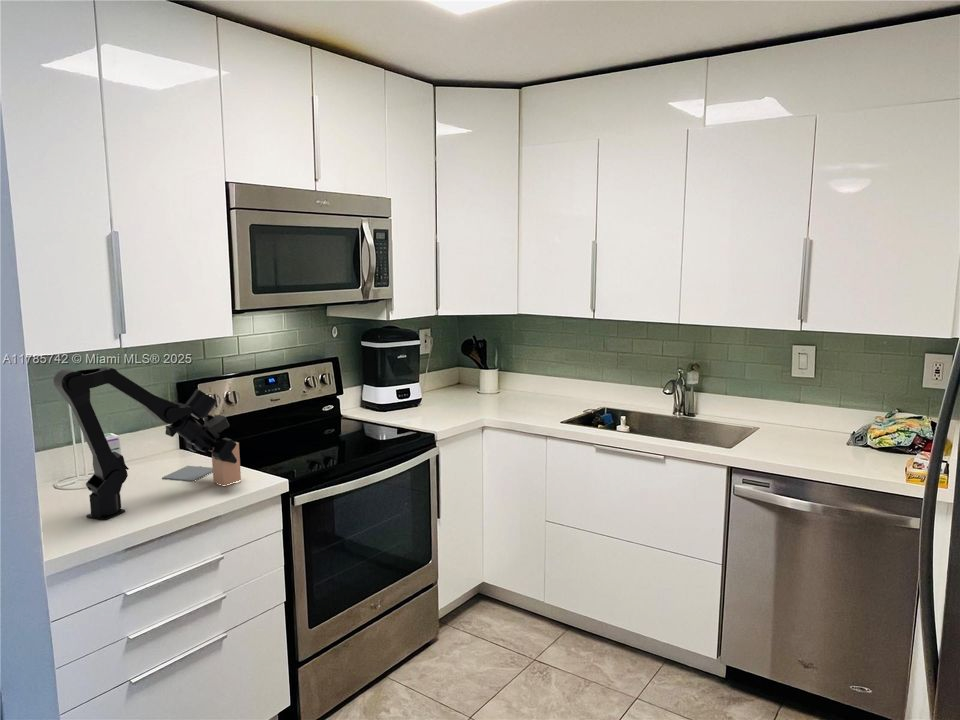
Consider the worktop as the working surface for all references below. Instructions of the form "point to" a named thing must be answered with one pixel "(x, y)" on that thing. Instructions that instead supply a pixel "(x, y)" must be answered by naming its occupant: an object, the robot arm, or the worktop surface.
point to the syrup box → (113, 442)
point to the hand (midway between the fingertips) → (230, 460)
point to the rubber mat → (189, 473)
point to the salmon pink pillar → (227, 469)
